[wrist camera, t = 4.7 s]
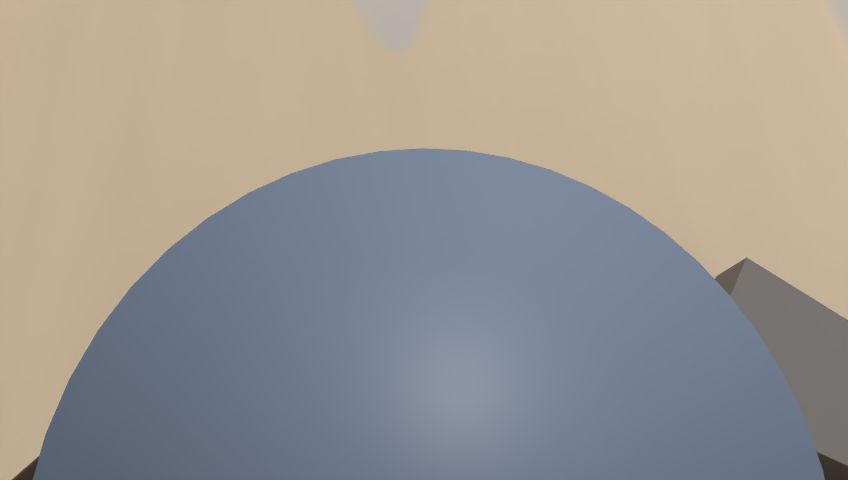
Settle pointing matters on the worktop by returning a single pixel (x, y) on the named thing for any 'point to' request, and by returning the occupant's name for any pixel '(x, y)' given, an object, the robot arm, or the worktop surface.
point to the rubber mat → (799, 349)
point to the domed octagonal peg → (427, 342)
